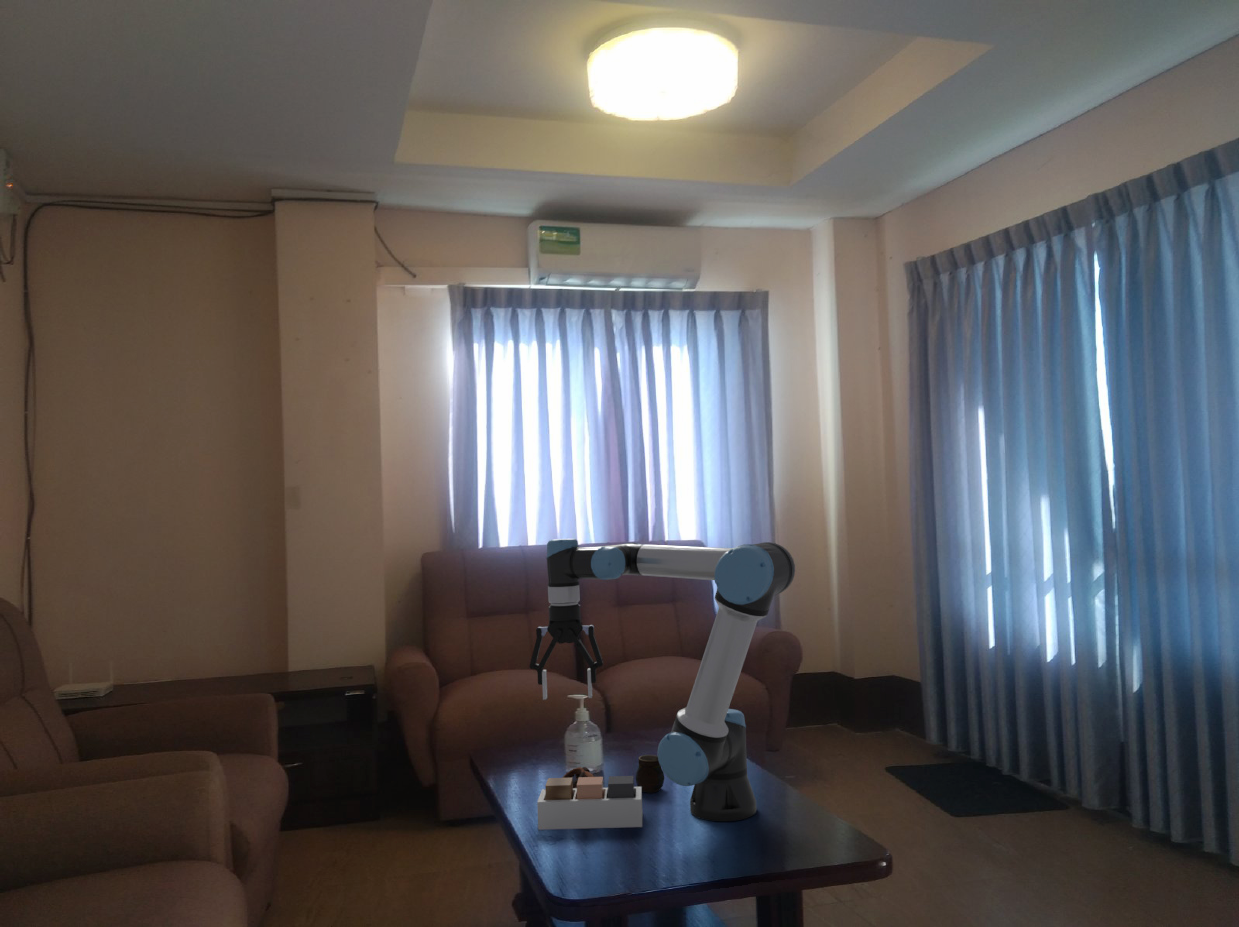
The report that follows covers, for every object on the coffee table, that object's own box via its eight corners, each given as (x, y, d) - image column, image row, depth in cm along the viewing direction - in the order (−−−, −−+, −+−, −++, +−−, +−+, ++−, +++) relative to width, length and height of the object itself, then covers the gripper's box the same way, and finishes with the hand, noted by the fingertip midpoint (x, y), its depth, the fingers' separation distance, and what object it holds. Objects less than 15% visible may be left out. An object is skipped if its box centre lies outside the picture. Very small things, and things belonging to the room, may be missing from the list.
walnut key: (573, 799, 209) (572, 777, 209) (571, 807, 203) (570, 785, 203) (548, 800, 209) (548, 778, 209) (546, 808, 203) (545, 785, 203)
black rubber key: (634, 797, 208) (633, 775, 208) (633, 806, 203) (633, 783, 203) (609, 798, 208) (609, 776, 209) (608, 806, 203) (607, 784, 203)
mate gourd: (640, 784, 231) (639, 744, 231) (669, 787, 228) (668, 746, 229) (631, 793, 224) (630, 752, 224) (661, 796, 222) (660, 754, 222)
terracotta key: (603, 798, 208) (602, 776, 209) (602, 807, 203) (601, 784, 203) (579, 799, 209) (578, 777, 209) (577, 807, 203) (576, 785, 203)
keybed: (642, 812, 210) (641, 786, 210) (642, 826, 201) (641, 799, 201) (542, 815, 210) (542, 789, 211) (538, 829, 201) (537, 802, 202)
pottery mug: (603, 806, 217) (585, 778, 216) (569, 822, 219) (552, 795, 217) (607, 778, 229) (590, 751, 228) (574, 794, 230) (558, 768, 229)
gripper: (612, 600, 221) (615, 692, 220) (519, 603, 222) (522, 695, 221) (611, 603, 214) (614, 699, 213) (514, 607, 214) (518, 702, 213)
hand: (567, 697), depth 217 cm, fingers open, 10 cm apart
